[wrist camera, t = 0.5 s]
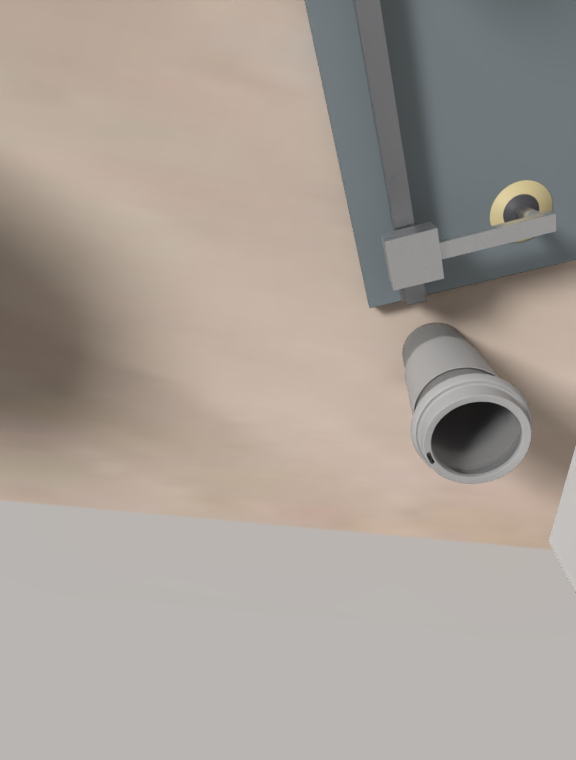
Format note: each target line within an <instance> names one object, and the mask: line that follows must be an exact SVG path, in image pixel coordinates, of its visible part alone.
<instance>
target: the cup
mask: <svg viewBox="0 0 576 760" xmlns="http://www.w3.org/2000/svg"><path fill="white" fill-rule="evenodd" d="M403 361H404V365H405V379H406V385H407V390H408V394H409V399H410V404H411V409H412V414H413V417H412V421H411V438H412V442H413V445H414V447H415V449H416V451H417V453H418V454H419V456H420V457H421V458H422V459H423V460H424V462H425V463H426V464H427V465H428V466H430V467H431V468H432V469H434V470H435V471H436V472H437V473H438V474H440V475H441V476H443V477H444V478H447V479H449V480H452V481H455V482H459V483H466V484H476V483H484V482H488V481H492V480H495V479H497V478H500V477H502V476H504V475H505V474H507V473H509V472H510V471H512V470H513V469H514V468H515V467H516V466H517V465H518V464H519V463H520V462H521V461H522V459H523V458H524V457H525V455H526V453H527V451H528V449H529V446H530V442H531V430H532V418H531V413H530V409H529V406H528V403H527V401H526V399H525V398H524V396H523V395H522V393H521V392H520V391H519V390H518V389H517V388H516V387H515V386H513V385H512V384H511V383H509V382H507V381H505V380H503V379H501V378H500V377H499V376H498V375H497V374H496V372H495V371H494V370H493V369H492V368H491V367H490V365H489V364H488V363H487V362H486V361H485V360H484V358H483V357H482V356H481V355H480V354H479V353H478V351H477V350H476V349H475V348H474V347H473V346H472V345H471V344H470V343H468V342H467V341H466V340H465V339H464V338H463V337H462V335H461V334H460V333H459V332H458V331H457V330H456V329H455V328H453V327H452V326H450V325H447V324H444V323H430V324H426V325H423V326H421V327H419V328H417V329H416V330H415V331H413V332H412V333H411V334H410V335H409V337H408V338H407V340H406V341H405V344H404V347H403Z"/></svg>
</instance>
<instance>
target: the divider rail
mask: <svg viewBox="0 0 576 760" xmlns="http://www.w3.org/2000/svg"><path fill="white" fill-rule="evenodd" d="M353 4H354V10H355V16H356V22H357V27H358V33H359V39H360V44H361V50H362V56H363V61H364V67H365V73H366V79H367V84H368V90H369V96H370V101H371V107H372V113H373V119H374V124H375V130H376V136H377V141H378V147H379V153H380V159H381V164H382V170H383V176H384V181H385V187H386V193H387V198H388V204H389V210H390V216H391V221H392V227H393V231H392V232H388V233H384V234H381V239H382V244H383V250H384V255H385V260H386V266H387V271H388V276H389V281H390V284H391V286H392V288H393V291H394V290H398V289H399V293H400V297H401V299H402V301H405V300H406V302H407V304H408V305H410V304H415V303H419V302H423V301H426V291H425V284H424V283H428V282H432V281H436V280H440V279H444V273H443V266H442V259H446V258H450V257H454V256H458V255H462V254H466V253H470V252H475V251H479V250H483V249H487V248H491V247H495V246H499V245H503V244H507V243H511V242H515V241H519V240H523V239H527V238H531V237H535V236H539V235H543V234H547V233H551V232H555V231H556V213H553V212H551V211H549V212H545V213H541V212H539V211H536V210H534V209H532V208H530V207H527V206H521V207H519V208H518V209H517V210H516V213H515V216H516V218H517V220H513V221H509V222H505V223H501V224H497V225H494V226H490V227H486V228H482V229H478V230H474V231H470V232H466V233H462V234H458V235H454V236H450V237H446V238H442V239H439V236H438V229H437V227H436V226H435V225H434V224H433V223H432V222H431V221H430V222H426V223H422V224H418V225H415V224H414V218H413V211H412V205H411V199H410V192H409V186H408V179H407V173H406V166H405V160H404V154H403V147H402V141H401V134H400V128H399V121H398V115H397V108H396V102H395V96H394V89H393V83H392V76H391V70H390V63H389V57H388V51H387V44H386V38H385V31H384V25H383V18H382V12H381V6H380V0H353Z"/></svg>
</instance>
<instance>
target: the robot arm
mask: <svg viewBox="0 0 576 760" xmlns="http://www.w3.org/2000/svg"><path fill="white" fill-rule="evenodd" d="M549 543H550V545H551V547H552V549H553V551H554V553H555V555H556V557H557V558H558V560H559V562H560V564H561V566H562V568H563V570H564V572H565V574H566V575H567V577H568V579H569V581H570V583H571V585H572V587H573V589H574V591H575V592H576V446H575V450H574V454H573V457H572V461H571V464H570V468H569V471H568V475H567V479H566V482H565V486H564V489H563V493H562V496H561V500H560V504H559V507H558V511H557V514H556V518H555V521H554V525H553V529H552V532H551V536H550V539H549Z"/></svg>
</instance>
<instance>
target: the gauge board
mask: <svg viewBox="0 0 576 760" xmlns="http://www.w3.org/2000/svg"><path fill="white" fill-rule="evenodd" d="M305 4H306V9H307V13H308V18H309V23H310V28H311V32H312V37H313V42H314V47H315V51H316V56H317V61H318V66H319V70H320V75H321V80H322V85H323V89H324V94H325V99H326V104H327V108H328V113H329V118H330V123H331V127H332V132H333V137H334V142H335V146H336V151H337V156H338V161H339V165H340V170H341V175H342V180H343V184H344V189H345V194H346V199H347V203H348V208H349V213H350V218H351V222H352V227H353V232H354V237H355V241H356V246H357V251H358V256H359V260H360V265H361V270H362V275H363V279H364V284H365V289H366V294H367V298H368V303H369V307H370V308H373V307H377V306H381V305H385V304H390V303H394V302H398V301H402V299H401V297H400V293H399V289H398V290H394V291H393V288H392V286H391V284H390V281H389V276H388V271H387V266H386V260H385V255H384V250H383V244H382V239H381V234H384V233H388V232H392V231H393V227H392V221H391V216H390V210H389V204H388V198H387V193H386V187H385V181H384V176H383V170H382V164H381V159H380V153H379V147H378V141H377V136H376V130H375V124H374V119H373V113H372V107H371V101H370V96H369V90H368V84H367V79H366V73H365V67H364V61H363V56H362V50H361V44H360V39H359V33H358V27H357V22H356V16H355V10H354V4H353V0H305ZM380 6H381V12H382V18H383V25H384V31H385V38H386V44H387V51H388V57H389V63H390V70H391V76H392V83H393V89H394V96H395V102H396V108H397V115H398V121H399V128H400V134H401V141H402V147H403V154H404V160H405V166H406V173H407V179H408V186H409V192H410V199H411V205H412V211H413V218H414V224H415V225H418V224H422V223H426V222H430V221H431V222H432V223H433V224H434V225H435V226H436V227H437V229H438V236H439V239H442V238H446V237H450V236H454V235H458V234H462V233H466V232H470V231H474V230H478V229H482V228H486V227H490V226H494V225H497V224H501V223H505V222H509V221H513V220H517V218H516V216H515V213H516V210H517V209H518V208H519V207H521V206H527V207H530V208H532V209H534V210H536V211H539V212H541V213H545V212H549V211H551V212H553V213H556V231H555V232H551V233H547V234H543V235H539V236H535V237H531V238H527V239H523V240H519V241H515V242H511V243H507V244H503V245H499V246H495V247H491V248H487V249H483V250H479V251H475V252H470V253H466V254H462V255H458V256H454V257H450V258H446V259H442V266H443V273H444V279H440V280H436V281H432V282H428V283H424V284H425V291H426V295H428V294H432V293H436V292H440V291H445V290H449V289H453V288H457V287H462V286H466V285H470V284H474V283H478V282H483V281H487V280H491V279H495V278H500V277H504V276H508V275H512V274H517V273H521V272H525V271H529V270H533V269H538V268H542V267H546V266H550V265H555V264H559V263H563V262H567V261H572V260H576V0H380Z"/></svg>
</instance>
